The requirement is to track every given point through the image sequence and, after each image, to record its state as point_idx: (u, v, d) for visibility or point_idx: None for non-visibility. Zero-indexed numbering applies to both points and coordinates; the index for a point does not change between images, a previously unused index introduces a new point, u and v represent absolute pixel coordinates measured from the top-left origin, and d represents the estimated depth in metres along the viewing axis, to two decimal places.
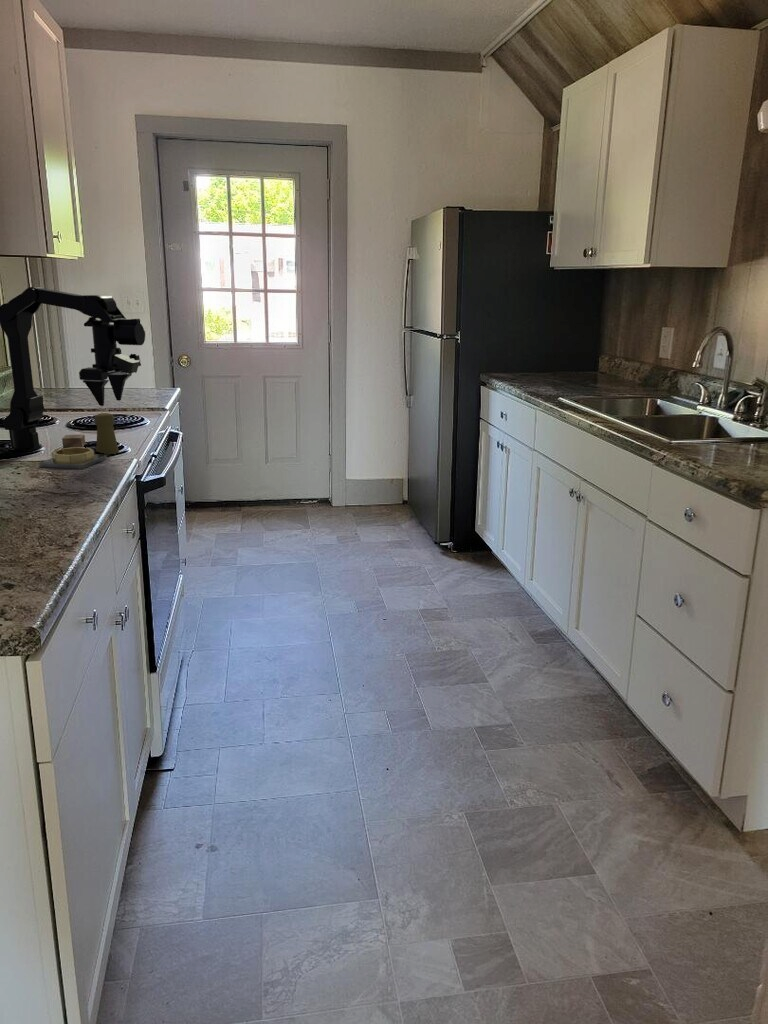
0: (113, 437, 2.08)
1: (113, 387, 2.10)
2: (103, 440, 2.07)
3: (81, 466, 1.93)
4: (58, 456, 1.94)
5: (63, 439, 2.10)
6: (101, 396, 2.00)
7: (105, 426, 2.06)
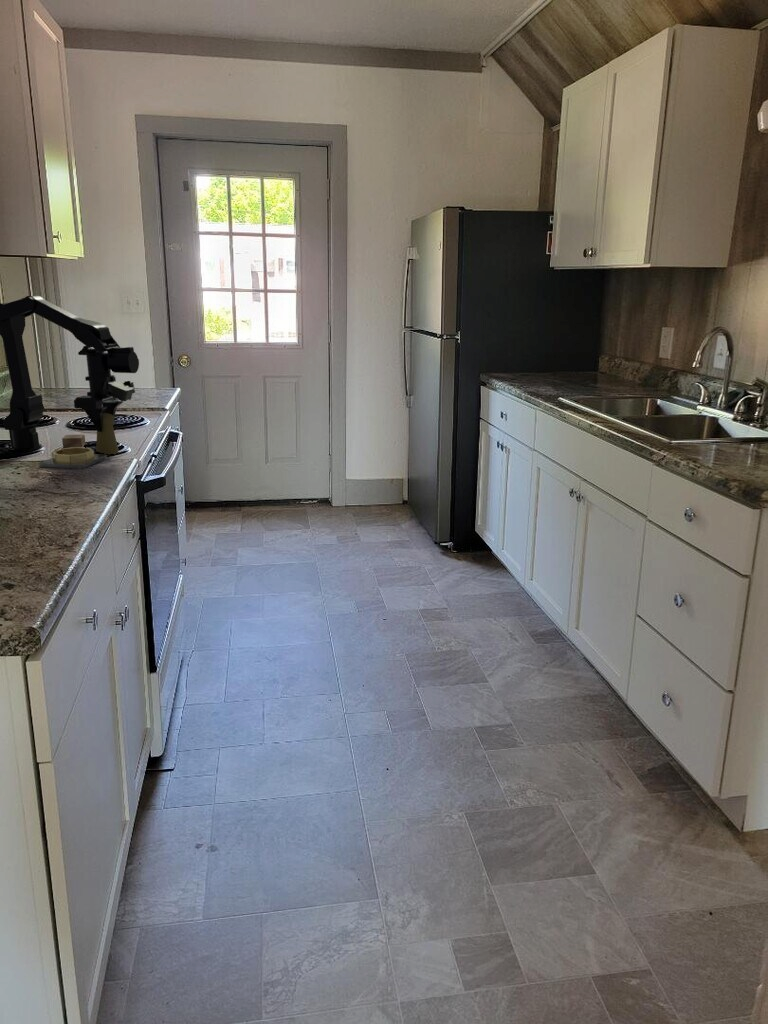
0: (113, 437, 2.08)
1: None
2: (103, 440, 2.07)
3: (81, 466, 1.93)
4: (58, 456, 1.94)
5: (63, 439, 2.10)
6: (99, 422, 2.04)
7: (105, 426, 2.06)
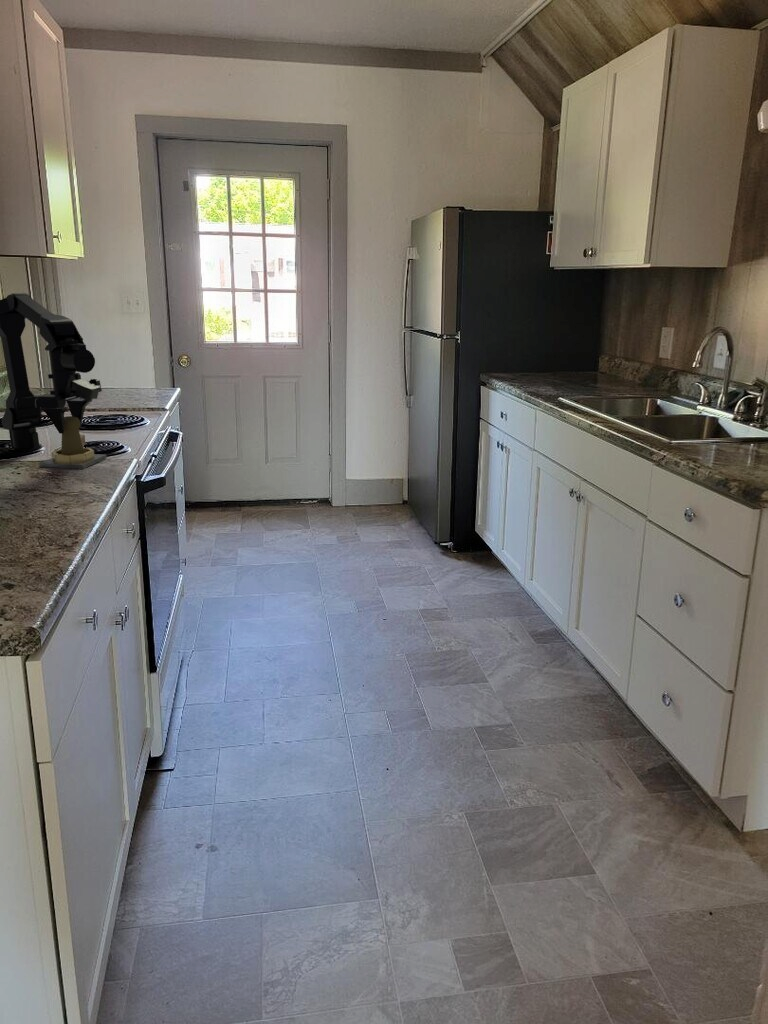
0: (79, 442, 1.97)
1: (72, 414, 2.00)
2: (68, 445, 1.96)
3: (81, 466, 1.93)
4: (58, 456, 1.94)
5: None
6: (60, 424, 1.92)
7: (70, 430, 1.95)
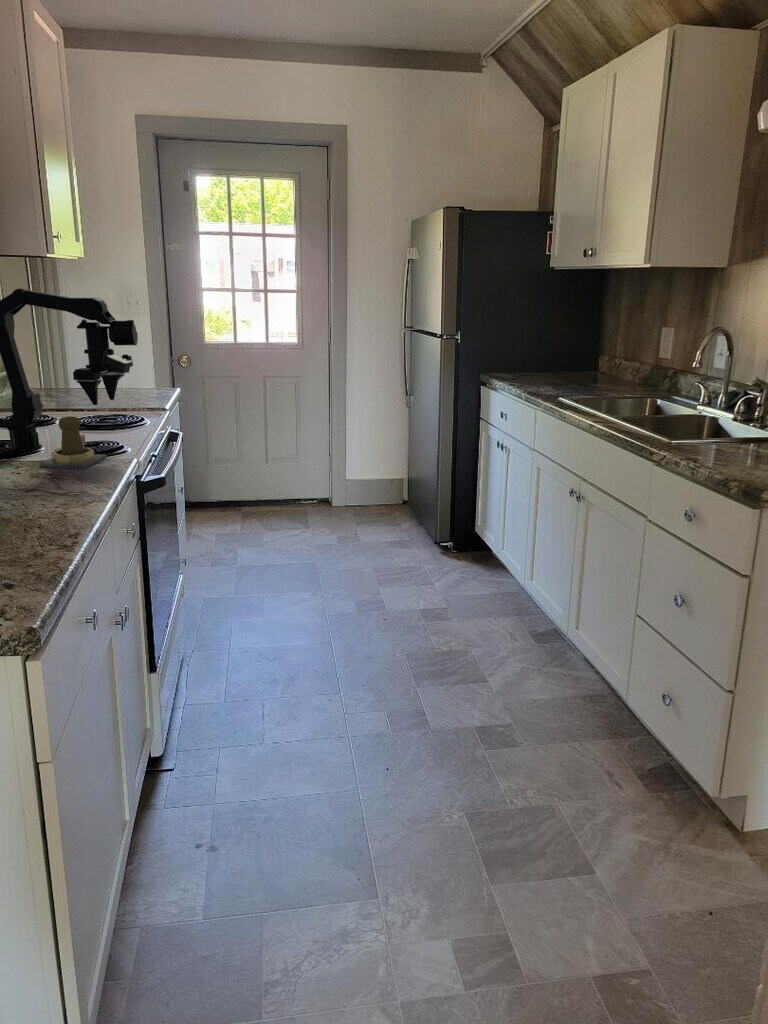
0: (79, 442, 1.97)
1: (106, 387, 2.16)
2: (68, 445, 1.96)
3: (81, 466, 1.93)
4: (58, 456, 1.94)
5: None
6: (94, 396, 2.07)
7: (70, 430, 1.95)
